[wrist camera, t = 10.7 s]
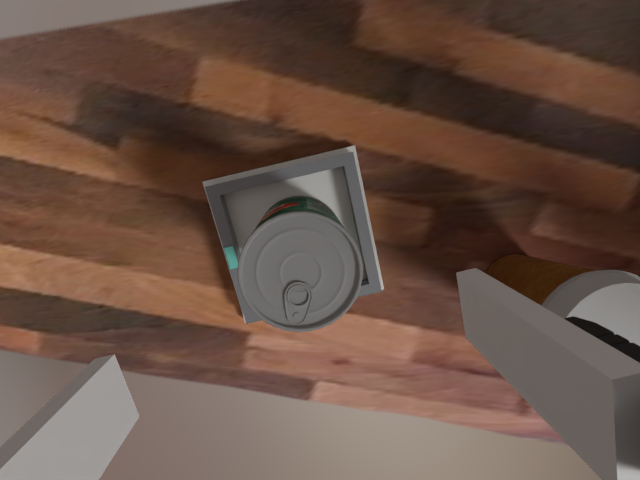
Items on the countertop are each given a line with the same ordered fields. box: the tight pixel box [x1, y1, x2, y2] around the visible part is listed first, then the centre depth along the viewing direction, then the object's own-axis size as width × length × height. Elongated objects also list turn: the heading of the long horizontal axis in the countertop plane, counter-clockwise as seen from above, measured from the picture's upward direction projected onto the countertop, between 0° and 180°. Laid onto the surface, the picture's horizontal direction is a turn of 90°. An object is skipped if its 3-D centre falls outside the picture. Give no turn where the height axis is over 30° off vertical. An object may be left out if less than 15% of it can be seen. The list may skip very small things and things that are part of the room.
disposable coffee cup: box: [485, 254, 640, 346], centre depth 29 cm, size 10×10×12 cm
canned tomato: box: [237, 196, 363, 332], centre depth 27 cm, size 8×8×11 cm
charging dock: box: [202, 145, 384, 324], centre depth 32 cm, size 14×14×2 cm
